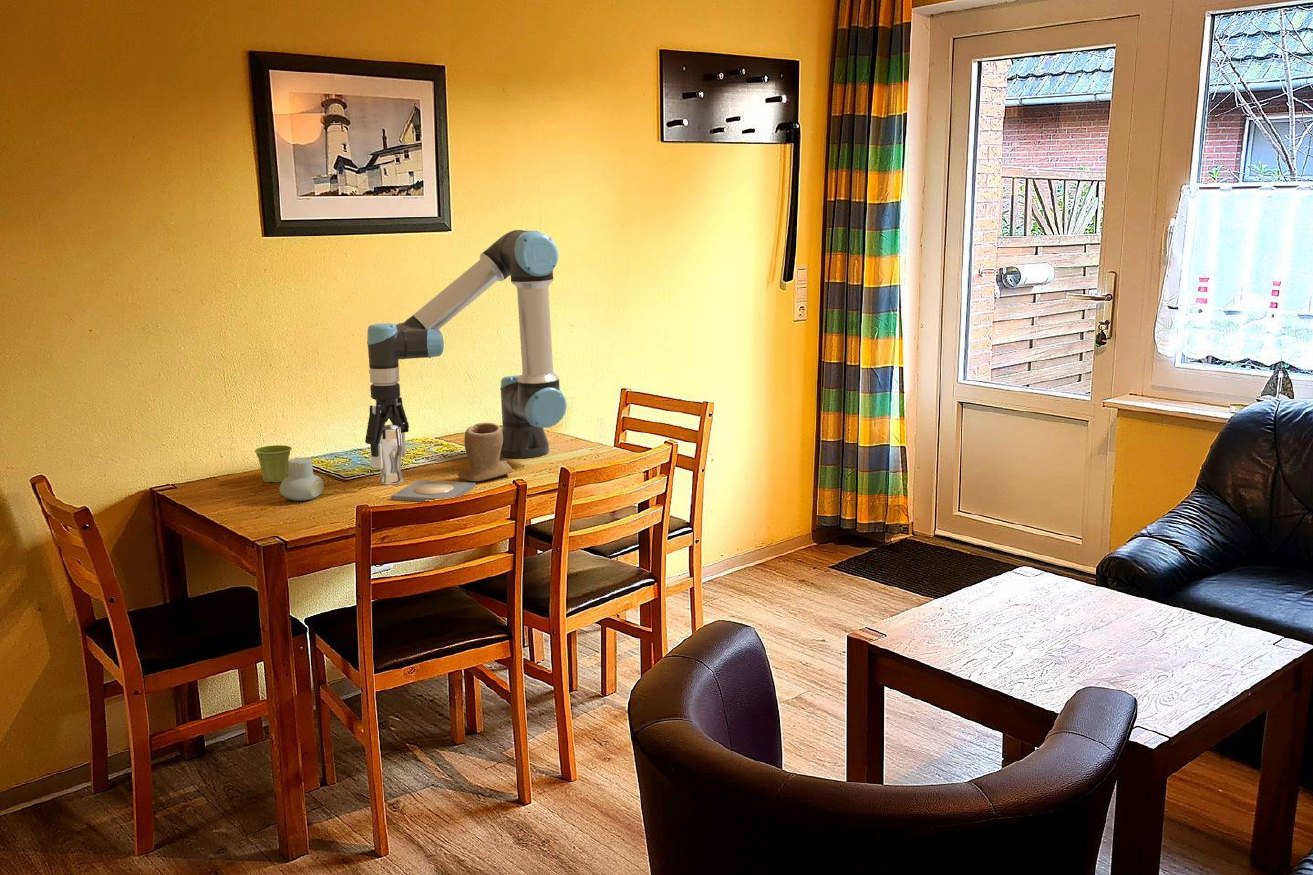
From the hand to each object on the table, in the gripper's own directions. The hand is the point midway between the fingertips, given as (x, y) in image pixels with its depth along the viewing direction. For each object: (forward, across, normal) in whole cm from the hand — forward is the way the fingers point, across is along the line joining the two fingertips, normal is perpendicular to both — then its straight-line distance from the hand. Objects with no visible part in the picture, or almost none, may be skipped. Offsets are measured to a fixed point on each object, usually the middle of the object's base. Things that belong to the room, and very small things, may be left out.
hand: (389, 462), depth 299 cm
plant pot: (+6, +4, -32) cm, 33 cm away
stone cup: (+6, -9, +24) cm, 26 cm away
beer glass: (+6, 0, 0) cm, 6 cm away
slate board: (+5, +8, +16) cm, 19 cm away
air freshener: (+6, +19, -15) cm, 25 cm away
